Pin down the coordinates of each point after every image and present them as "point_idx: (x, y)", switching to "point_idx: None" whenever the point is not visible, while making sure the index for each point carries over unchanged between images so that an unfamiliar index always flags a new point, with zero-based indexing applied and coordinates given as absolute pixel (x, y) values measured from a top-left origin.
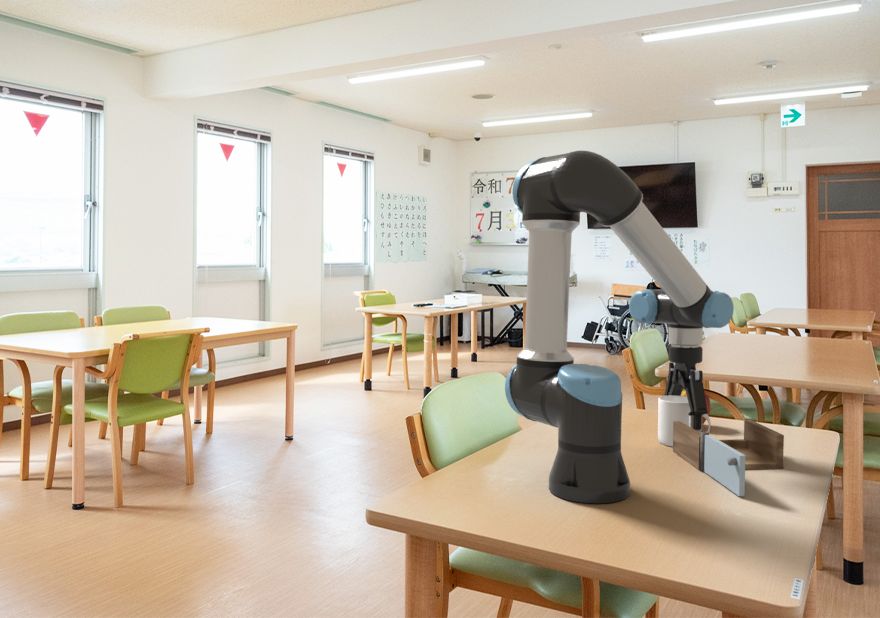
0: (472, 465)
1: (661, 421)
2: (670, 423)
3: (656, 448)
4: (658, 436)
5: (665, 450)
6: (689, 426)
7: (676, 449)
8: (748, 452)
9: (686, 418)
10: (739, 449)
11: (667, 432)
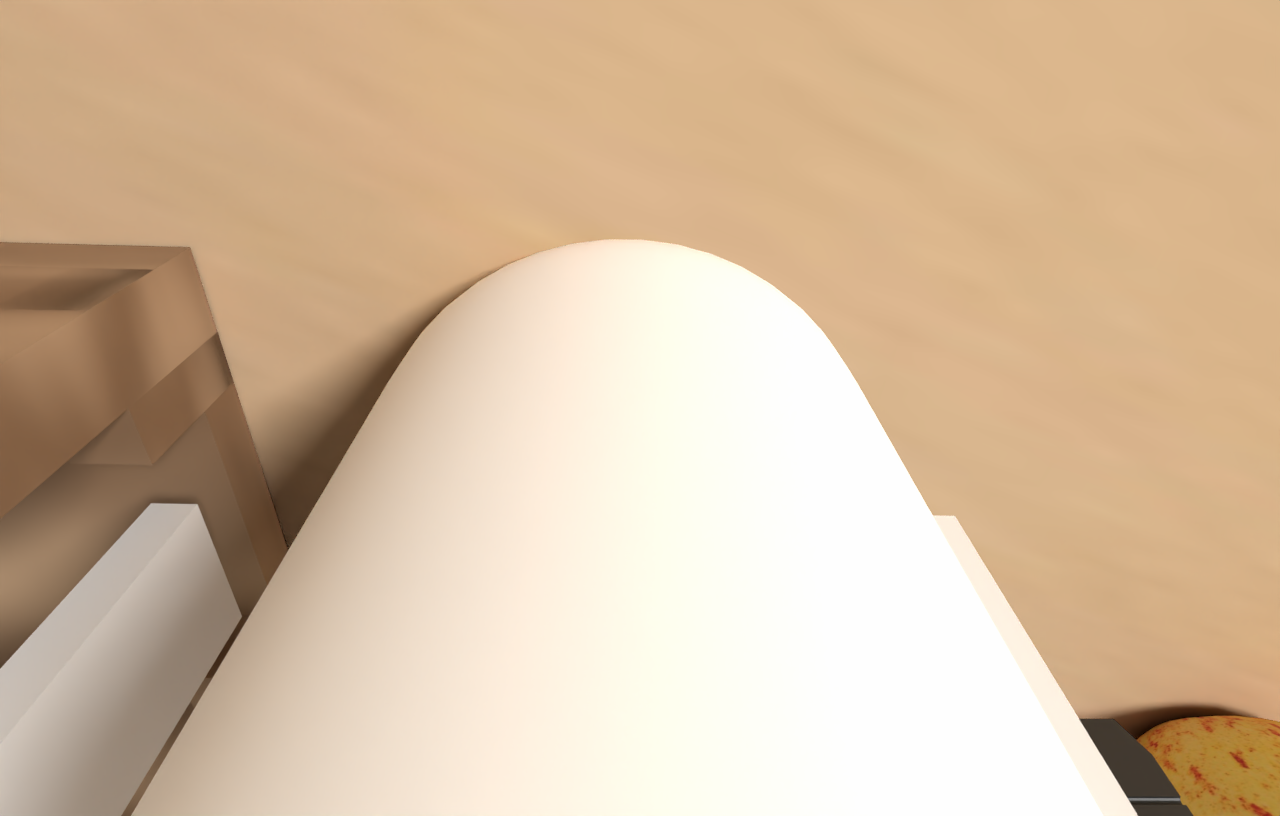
0: None
1: (516, 415)
2: (308, 522)
3: (345, 66)
4: (670, 260)
5: (243, 167)
6: (9, 711)
7: (11, 268)
8: (135, 807)
9: None
10: None
11: (416, 374)
